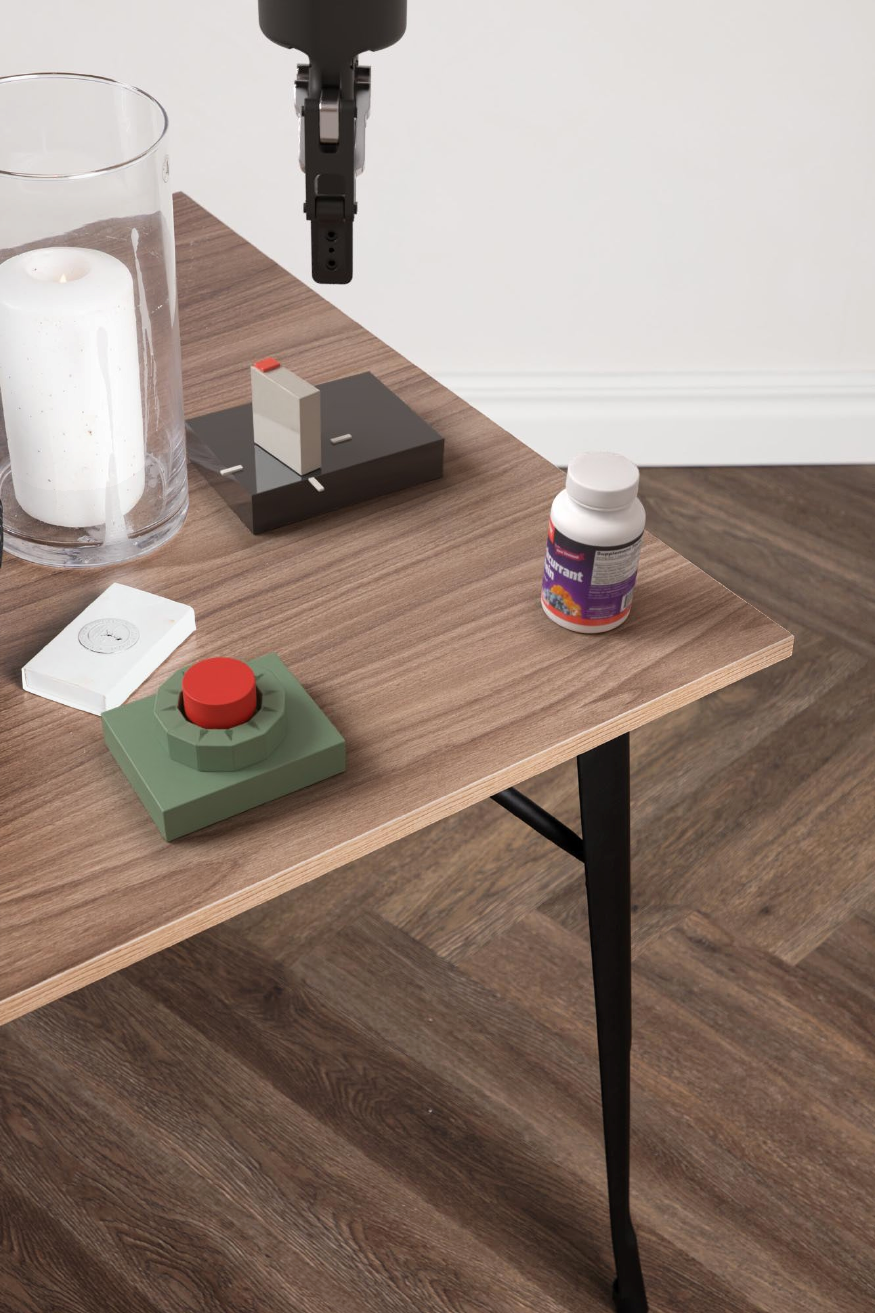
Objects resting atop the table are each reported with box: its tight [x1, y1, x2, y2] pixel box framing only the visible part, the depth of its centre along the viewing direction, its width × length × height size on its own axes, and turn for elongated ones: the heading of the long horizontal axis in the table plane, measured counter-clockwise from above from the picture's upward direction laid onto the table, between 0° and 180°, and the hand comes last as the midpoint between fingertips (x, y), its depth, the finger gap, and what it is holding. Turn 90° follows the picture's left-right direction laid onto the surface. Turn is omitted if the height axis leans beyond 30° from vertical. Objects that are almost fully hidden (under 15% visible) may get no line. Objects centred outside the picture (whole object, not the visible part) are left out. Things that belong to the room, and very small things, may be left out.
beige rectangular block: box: [250, 356, 321, 475], centre depth 88 cm, size 5×2×6 cm, turn 42°
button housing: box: [100, 651, 347, 843], centre depth 72 cm, size 10×8×4 cm
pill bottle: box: [540, 450, 647, 634], centre depth 81 cm, size 5×5×10 cm
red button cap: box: [182, 656, 257, 729], centre depth 71 cm, size 4×4×2 cm
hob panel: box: [184, 370, 446, 536], centre depth 93 cm, size 15×12×3 cm
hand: (334, 247), depth 80 cm, fingers open, 8 cm apart
